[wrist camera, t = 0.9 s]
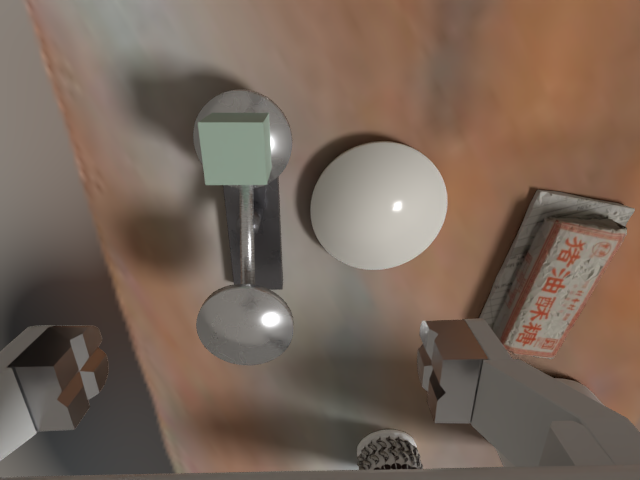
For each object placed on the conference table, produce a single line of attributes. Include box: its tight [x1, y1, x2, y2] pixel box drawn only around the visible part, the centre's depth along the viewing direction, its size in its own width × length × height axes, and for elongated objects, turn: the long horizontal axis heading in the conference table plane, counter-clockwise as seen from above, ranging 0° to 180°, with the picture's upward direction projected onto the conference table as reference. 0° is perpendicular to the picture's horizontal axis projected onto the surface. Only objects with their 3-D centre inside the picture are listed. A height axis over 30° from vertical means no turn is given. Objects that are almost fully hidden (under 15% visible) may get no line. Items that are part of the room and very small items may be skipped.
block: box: [198, 113, 272, 185], centre depth 30 cm, size 4×4×4 cm
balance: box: [193, 89, 294, 365], centre depth 34 cm, size 22×8×10 cm, turn 0°
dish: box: [310, 141, 447, 270], centre depth 39 cm, size 13×13×2 cm
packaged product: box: [479, 190, 635, 359], centre depth 42 cm, size 18×5×10 cm
